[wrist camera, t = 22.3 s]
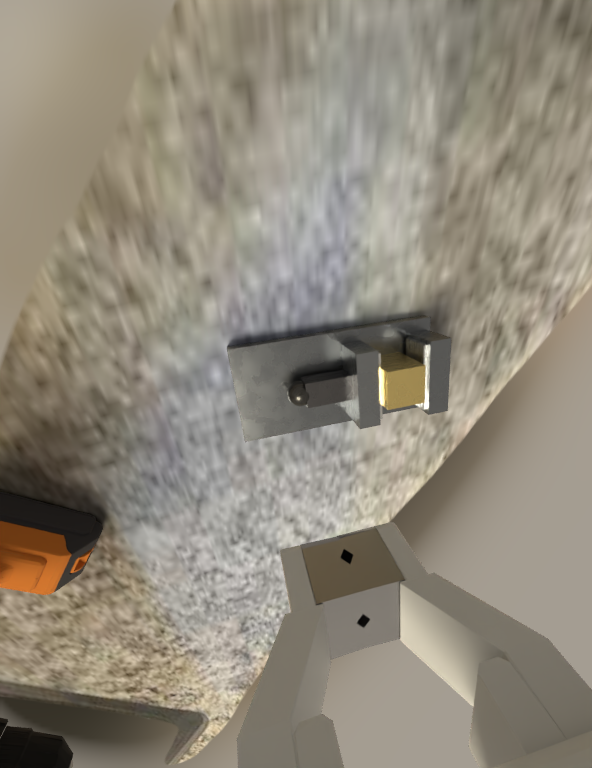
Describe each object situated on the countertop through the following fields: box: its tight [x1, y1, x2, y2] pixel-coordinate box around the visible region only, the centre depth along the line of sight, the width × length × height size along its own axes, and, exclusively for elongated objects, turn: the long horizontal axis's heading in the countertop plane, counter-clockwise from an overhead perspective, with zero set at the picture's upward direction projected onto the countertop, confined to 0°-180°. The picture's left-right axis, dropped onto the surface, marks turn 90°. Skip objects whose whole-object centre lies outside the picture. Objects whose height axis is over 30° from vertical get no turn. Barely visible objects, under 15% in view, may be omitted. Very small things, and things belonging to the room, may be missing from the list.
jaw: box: [287, 341, 382, 429], centre depth 40 cm, size 9×10×5 cm
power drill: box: [0, 492, 103, 768], centre depth 32 cm, size 22×7×25 cm, turn 60°
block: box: [381, 352, 426, 410], centre depth 40 cm, size 4×4×6 cm
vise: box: [227, 315, 451, 442], centre depth 40 cm, size 12×25×6 cm, turn 97°
